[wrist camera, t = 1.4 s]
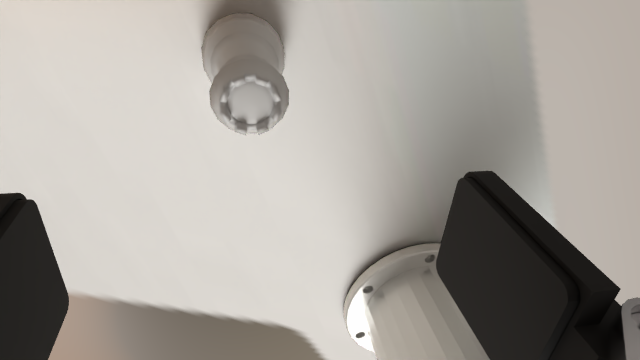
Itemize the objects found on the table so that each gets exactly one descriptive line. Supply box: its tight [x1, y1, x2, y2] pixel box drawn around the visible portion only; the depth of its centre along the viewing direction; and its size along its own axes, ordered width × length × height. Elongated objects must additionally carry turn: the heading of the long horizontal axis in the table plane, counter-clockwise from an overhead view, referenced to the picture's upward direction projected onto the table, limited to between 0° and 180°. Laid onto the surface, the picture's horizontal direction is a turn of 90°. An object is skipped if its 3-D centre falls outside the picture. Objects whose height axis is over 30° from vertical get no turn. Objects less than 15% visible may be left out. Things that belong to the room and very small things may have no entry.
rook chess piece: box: [202, 13, 289, 135], centre depth 20 cm, size 4×4×8 cm
